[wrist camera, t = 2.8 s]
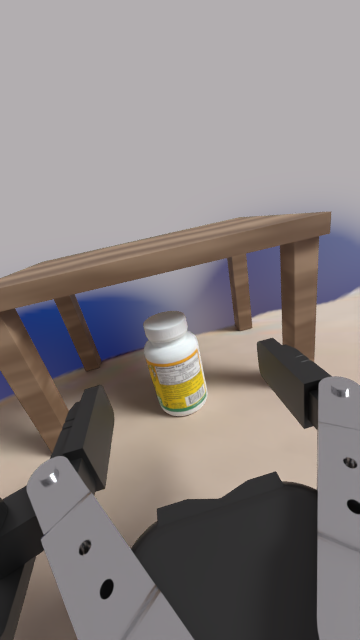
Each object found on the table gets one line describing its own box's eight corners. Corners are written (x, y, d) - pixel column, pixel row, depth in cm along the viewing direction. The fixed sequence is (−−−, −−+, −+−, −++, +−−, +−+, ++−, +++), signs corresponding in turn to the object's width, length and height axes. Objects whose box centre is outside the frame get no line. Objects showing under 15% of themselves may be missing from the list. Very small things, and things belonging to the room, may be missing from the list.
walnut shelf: (321, 385, 23) (331, 211, 17) (47, 463, 21) (-60, 301, 15) (248, 320, 39) (239, 217, 32) (86, 362, 37) (41, 262, 31)
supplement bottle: (206, 417, 23) (188, 330, 19) (154, 418, 24) (126, 336, 20) (209, 380, 27) (195, 304, 23) (165, 383, 29) (145, 311, 25)
